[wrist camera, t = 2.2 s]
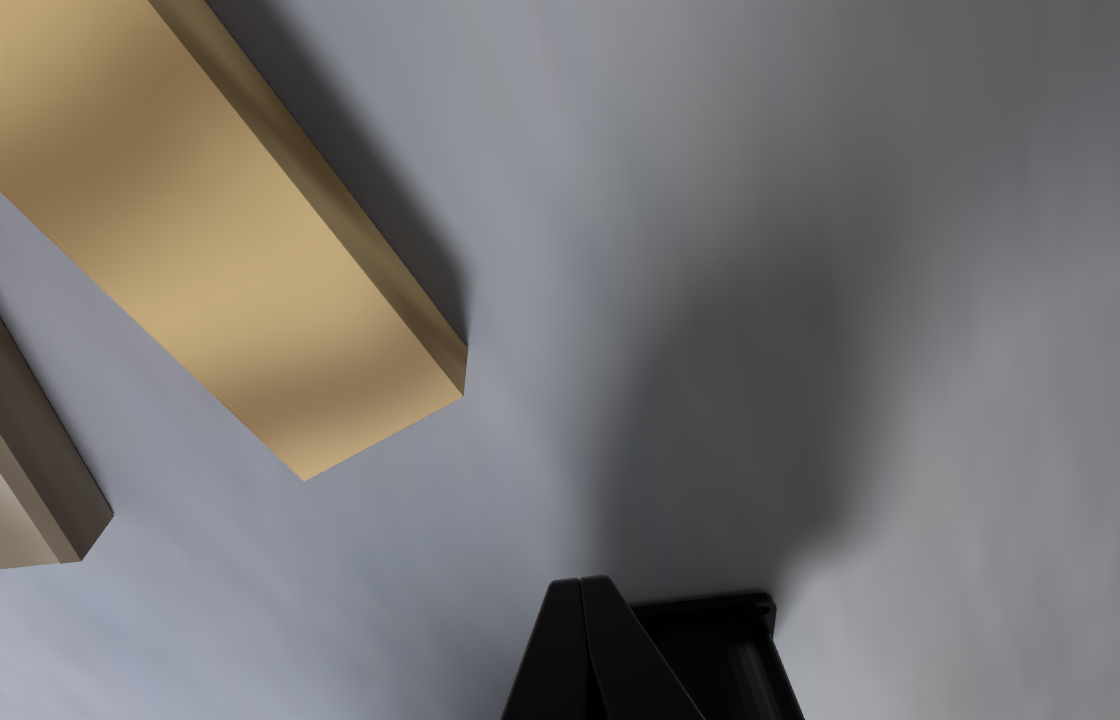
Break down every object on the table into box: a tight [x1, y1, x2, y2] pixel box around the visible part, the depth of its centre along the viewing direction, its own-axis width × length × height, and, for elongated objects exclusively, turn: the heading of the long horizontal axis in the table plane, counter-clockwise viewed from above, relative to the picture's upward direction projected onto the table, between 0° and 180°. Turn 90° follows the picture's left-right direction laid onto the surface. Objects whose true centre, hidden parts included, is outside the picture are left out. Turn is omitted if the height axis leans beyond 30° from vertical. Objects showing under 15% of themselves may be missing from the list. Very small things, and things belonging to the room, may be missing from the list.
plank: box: [0, 0, 468, 481], centre depth 14 cm, size 17×5×3 cm, turn 30°
